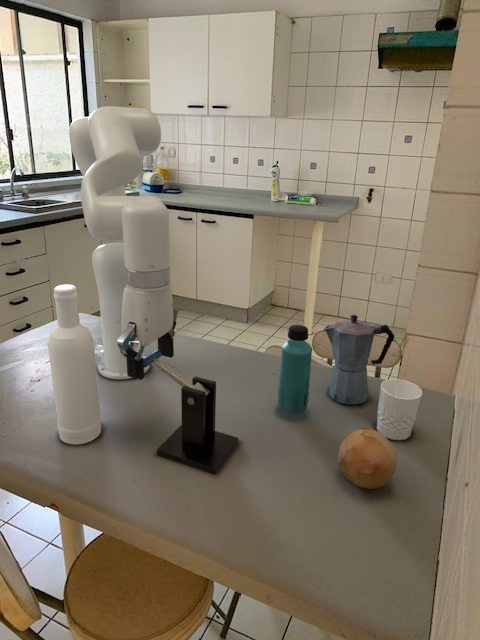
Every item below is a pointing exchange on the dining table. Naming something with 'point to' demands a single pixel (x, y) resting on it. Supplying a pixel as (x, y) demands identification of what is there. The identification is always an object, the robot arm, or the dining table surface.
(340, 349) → the moka pot
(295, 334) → the beverage bottle
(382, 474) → the onion
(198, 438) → the bracket
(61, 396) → the bottle
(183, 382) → the lever
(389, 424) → the white cup
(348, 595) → the dining table surface
